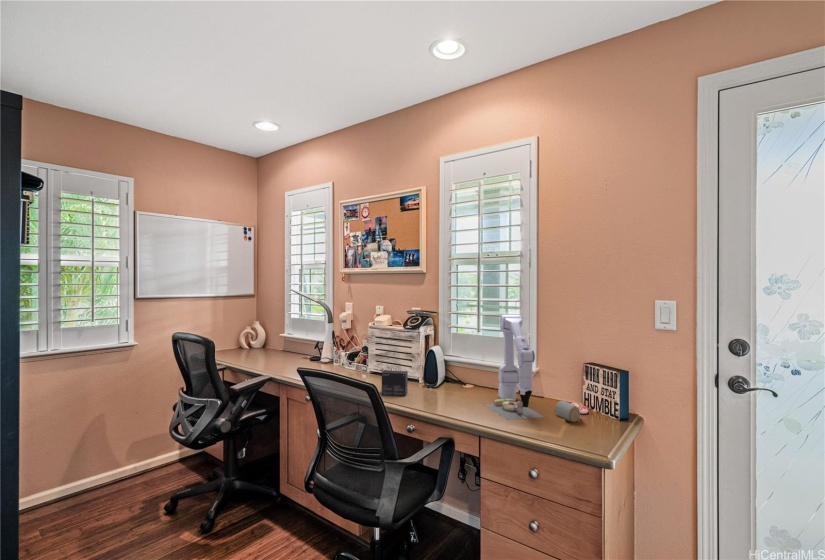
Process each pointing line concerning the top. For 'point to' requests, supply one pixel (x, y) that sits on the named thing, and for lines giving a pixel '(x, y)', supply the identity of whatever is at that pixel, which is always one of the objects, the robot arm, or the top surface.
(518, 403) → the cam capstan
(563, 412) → the ceramic mug
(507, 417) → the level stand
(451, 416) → the top surface
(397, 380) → the small box
